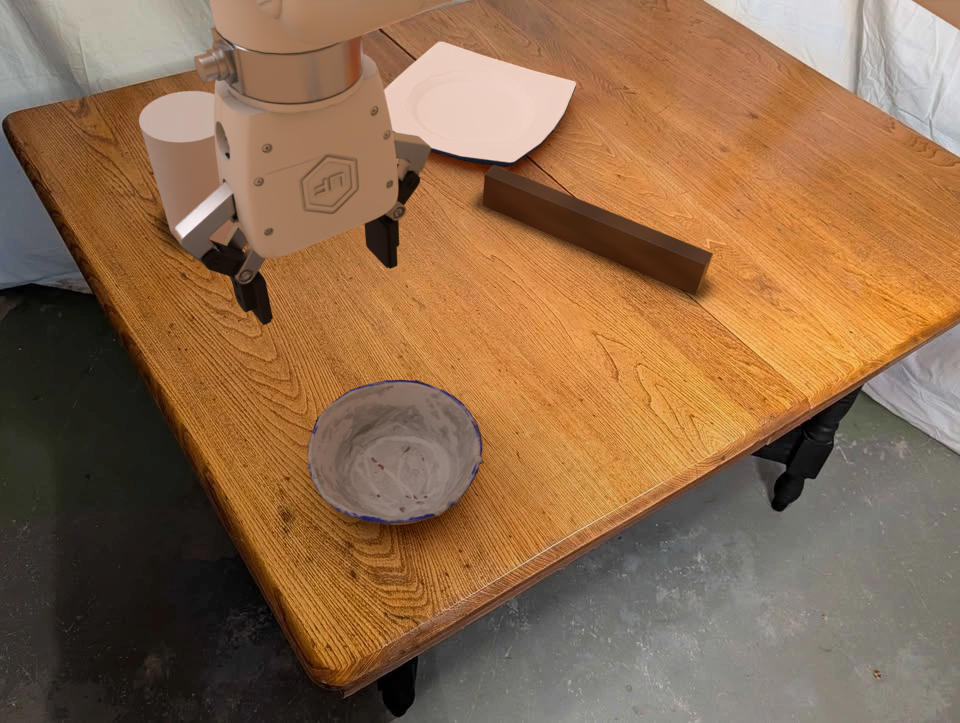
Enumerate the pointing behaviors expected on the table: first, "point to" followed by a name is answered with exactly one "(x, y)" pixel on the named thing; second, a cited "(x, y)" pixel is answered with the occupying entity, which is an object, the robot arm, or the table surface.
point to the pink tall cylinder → (183, 153)
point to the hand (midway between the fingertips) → (321, 283)
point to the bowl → (394, 452)
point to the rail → (596, 229)
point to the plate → (476, 105)
